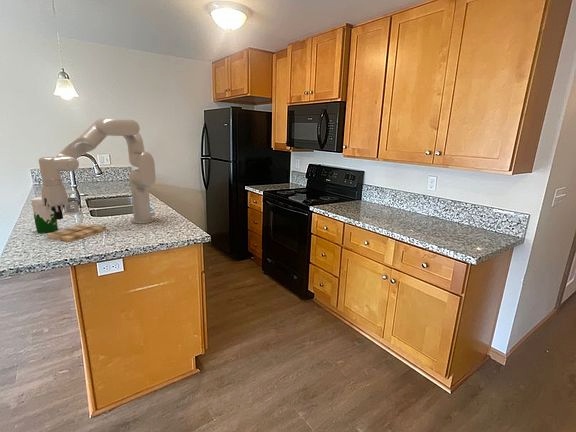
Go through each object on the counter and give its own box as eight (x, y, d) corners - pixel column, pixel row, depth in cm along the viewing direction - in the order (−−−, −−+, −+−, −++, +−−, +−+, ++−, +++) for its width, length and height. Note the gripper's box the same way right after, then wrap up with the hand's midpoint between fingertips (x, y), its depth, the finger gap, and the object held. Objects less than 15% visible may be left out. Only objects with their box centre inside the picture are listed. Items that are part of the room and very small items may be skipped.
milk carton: (55, 232, 167) (49, 195, 162) (34, 234, 164) (28, 195, 159) (60, 228, 175) (55, 192, 170) (40, 229, 172) (34, 192, 167)
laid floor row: (97, 229, 176) (96, 225, 175) (106, 230, 174) (105, 226, 174) (60, 240, 155) (59, 236, 155) (69, 242, 154) (69, 238, 153)
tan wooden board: (82, 227, 177) (81, 223, 176) (95, 229, 175) (94, 225, 174) (47, 237, 158) (46, 233, 158) (61, 240, 156) (60, 236, 156)
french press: (74, 215, 203) (69, 176, 197) (56, 214, 203) (50, 175, 197) (84, 211, 213) (79, 174, 207) (67, 211, 213) (62, 173, 207)
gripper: (60, 180, 163) (66, 214, 168) (31, 184, 149) (38, 222, 154) (72, 180, 161) (78, 215, 166) (43, 185, 147) (51, 223, 152)
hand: (59, 218), depth 160 cm, fingers closed
